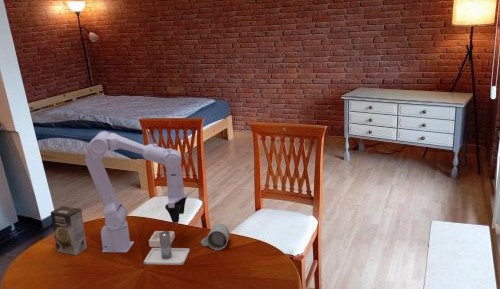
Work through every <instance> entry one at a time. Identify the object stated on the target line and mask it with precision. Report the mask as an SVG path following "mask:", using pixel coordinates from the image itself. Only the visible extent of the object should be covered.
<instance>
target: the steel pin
mask: <svg viewBox="0 0 500 289" xmlns="http://www.w3.org/2000/svg"><path fill="white" fill-rule="evenodd" d="M163 231H164V232H161V233H159V238H160V247H159V248H161V256H162V259H170V258H171V257H172V252H171V248H172V243H171V242H170V233H169V232H168V230H166V231H165V230H163Z"/></svg>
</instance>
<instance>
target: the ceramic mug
mask: <svg viewBox="0 0 500 289" xmlns="http://www.w3.org/2000/svg"><path fill="white" fill-rule="evenodd" d="M229 238H230V229H229V227H228V226H227V225H226V224H224V223H216V224H214V225H213V226H212V227H211V229H210V231H209V233H208V234H207V236H206V237H204V238H203V239H201V241H200V244H201V246H202V247H207V246H208V247H209V248H210V249H212V250H215V251H221V250H223V249H225V248H226V246H227V245H228V241H229Z"/></svg>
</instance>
